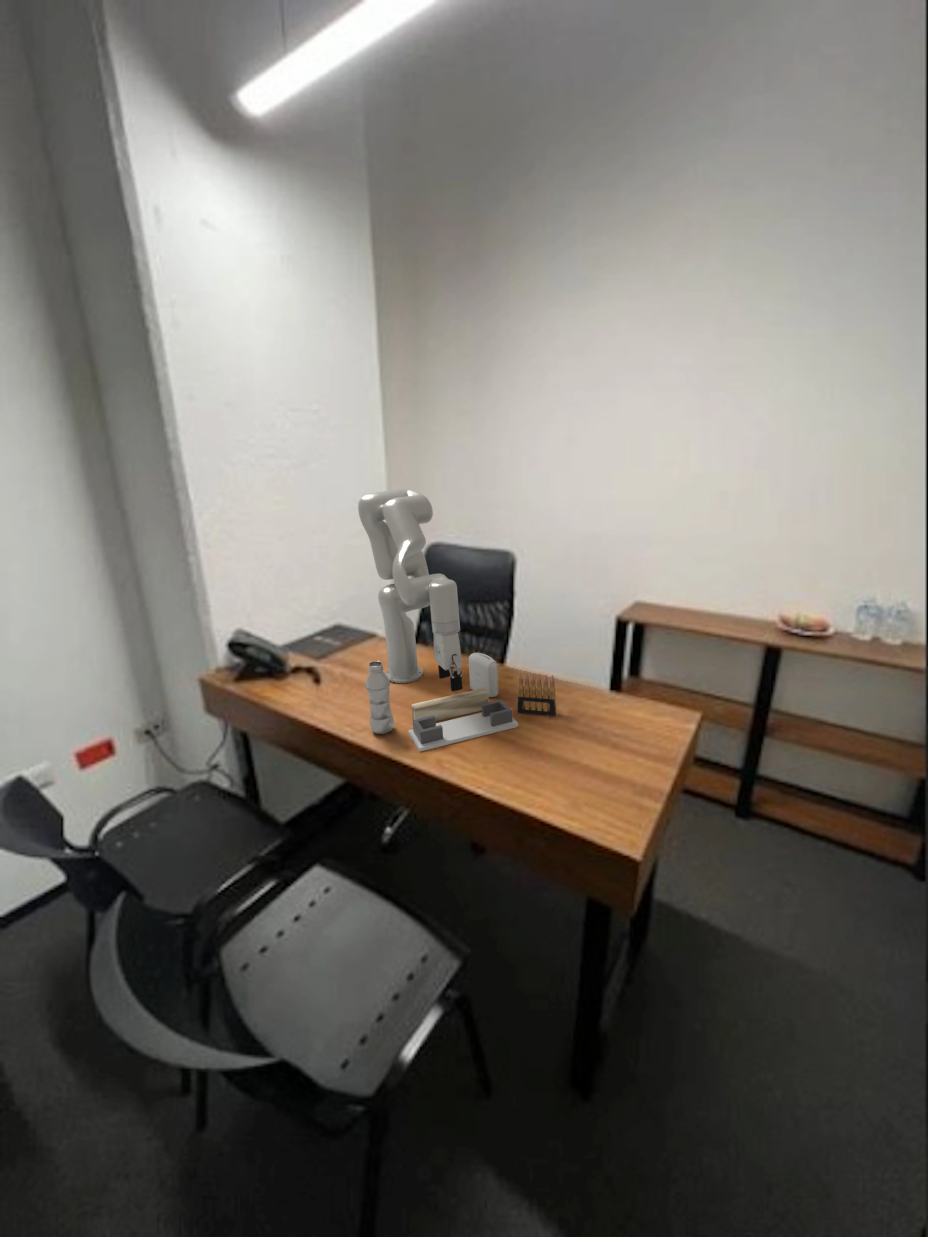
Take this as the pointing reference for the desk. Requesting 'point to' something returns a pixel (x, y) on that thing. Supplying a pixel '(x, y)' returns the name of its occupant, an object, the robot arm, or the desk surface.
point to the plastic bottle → (379, 699)
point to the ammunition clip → (536, 696)
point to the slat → (451, 705)
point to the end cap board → (462, 726)
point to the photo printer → (483, 673)
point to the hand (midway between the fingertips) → (450, 683)
